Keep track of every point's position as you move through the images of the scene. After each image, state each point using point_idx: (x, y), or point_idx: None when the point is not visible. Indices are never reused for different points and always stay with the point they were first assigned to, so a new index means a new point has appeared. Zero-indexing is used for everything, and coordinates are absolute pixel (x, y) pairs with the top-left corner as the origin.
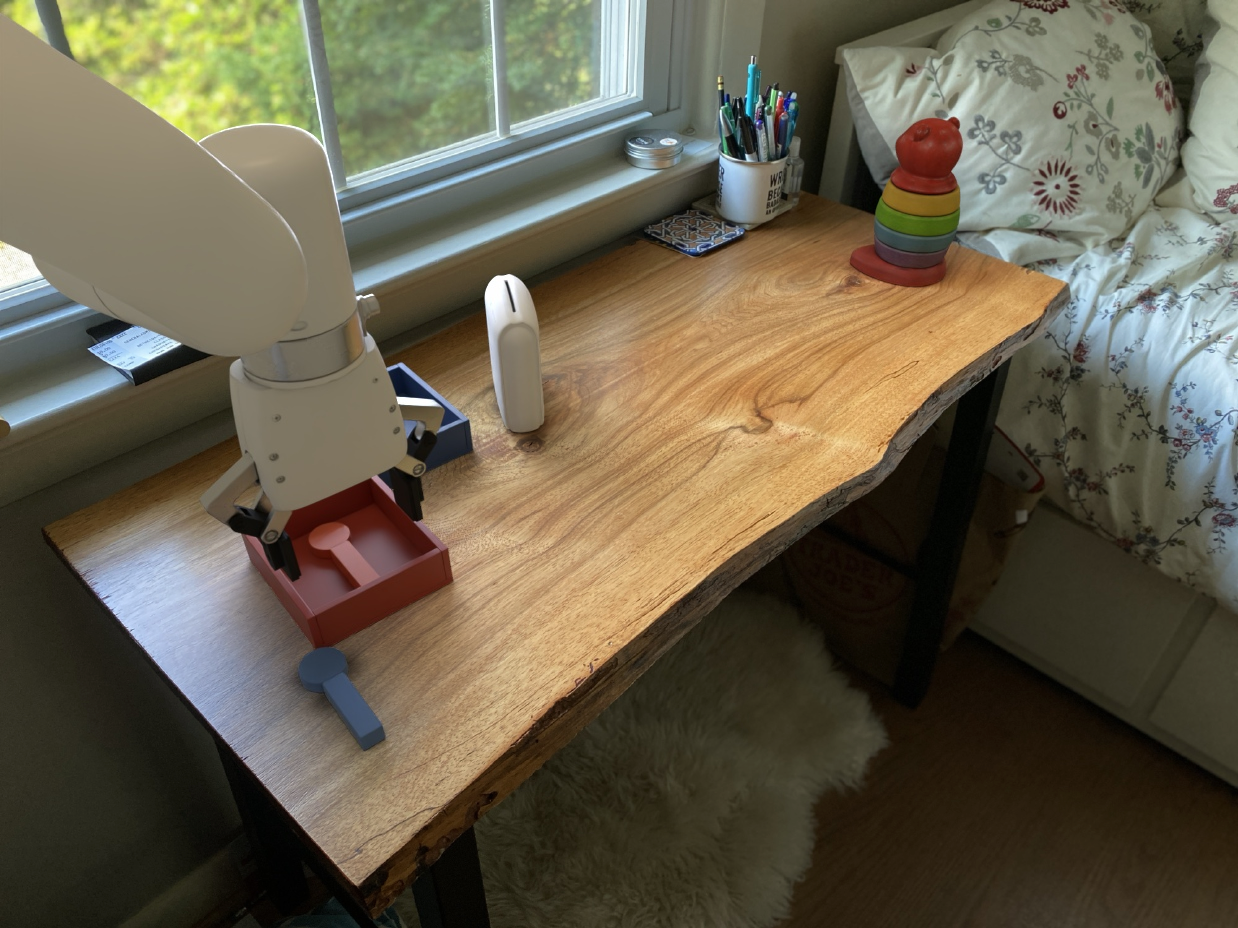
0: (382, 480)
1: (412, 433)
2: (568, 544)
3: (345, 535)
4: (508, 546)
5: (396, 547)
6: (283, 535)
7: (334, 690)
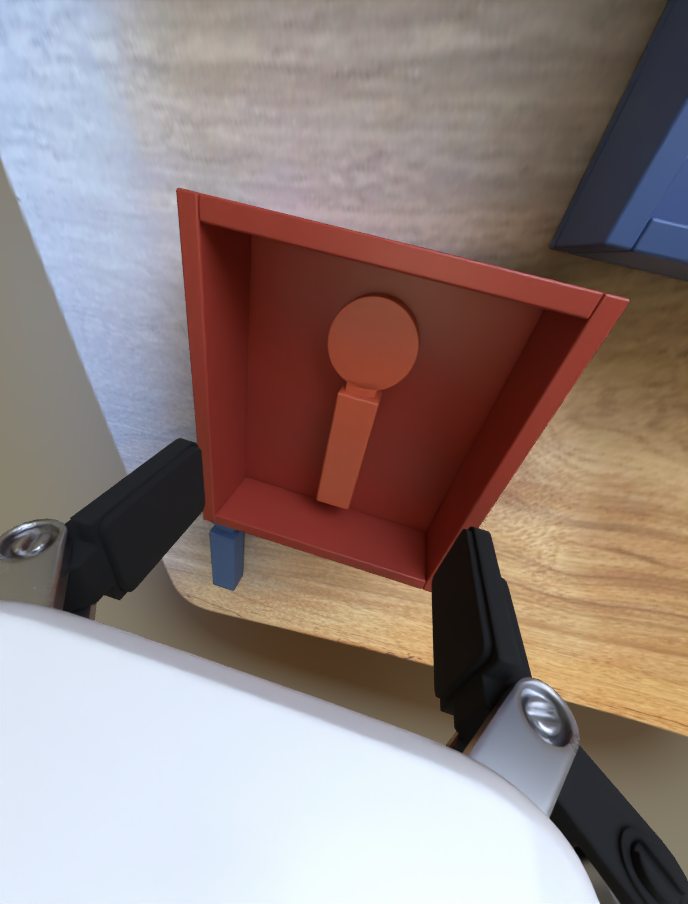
0: (645, 267)
1: (608, 883)
2: (578, 610)
3: (392, 377)
4: (538, 558)
5: (440, 446)
6: (112, 590)
7: (215, 545)
